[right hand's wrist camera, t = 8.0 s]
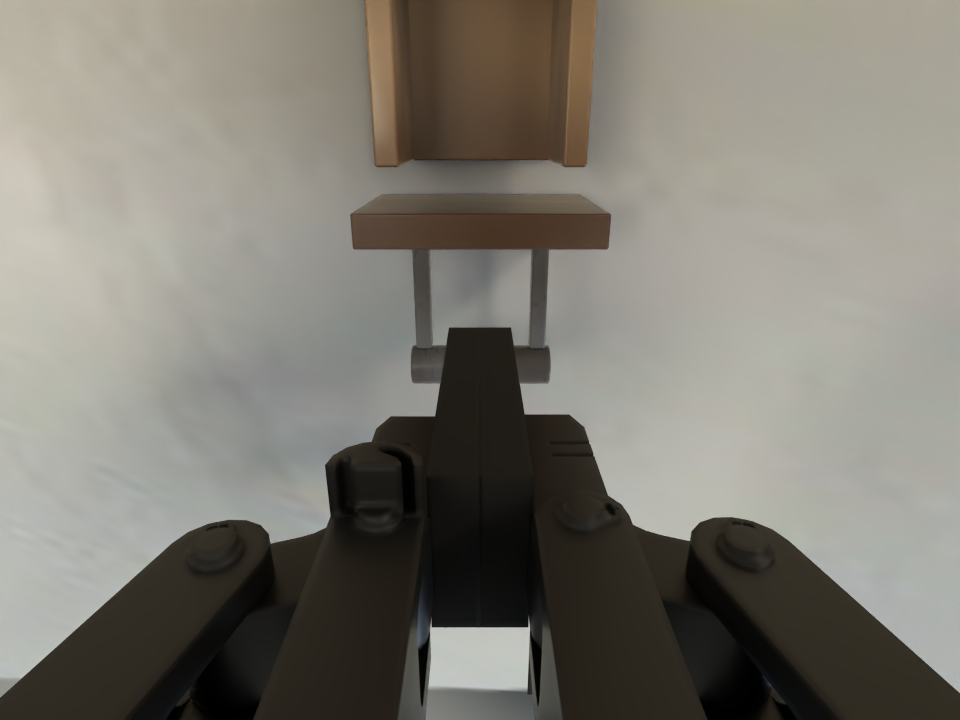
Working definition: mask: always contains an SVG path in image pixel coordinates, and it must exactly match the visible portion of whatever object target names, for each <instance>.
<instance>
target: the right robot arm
mask: <svg viewBox="0 0 960 720" xmlns="http://www.w3.org/2000/svg"><path fill="white" fill-rule="evenodd" d="M325 469H326V478H327V487H328V496H329V504H330V513H331V517H330V520H329V522H328V525H327V528H325V529H323V530H320V531H318V532H316V533H314V534H310V535H307V536H303V537H300V538H296V539H291V540H286V541H281V542H277V543H272V544H270V539H269V534H268V533H267V532H266V531H265V530H264V528H263V527H262V526H261V525H258V524H255V523H252V522H250V521H247V520H226V521H220V522H215V523H211V524H207V525H205V526H202V527H200V528H197V529H195V530H192V531H190V532H188V533H187V534H185V535H184V536H182V537H181V538H179V539H178V540H176V541H175V542H173V543H172V544H171V545H170V546H169V547H168V548H166V549H165V550H164V551H163V552H162V553H161V554H160V555H159V556H158V557H156V558H155V559H154V560H153V561H152V562H151V563H150V564H149V565H148V566H146V567H145V568H144V569H143V570H142V571H141V572H140V573H139V574H138V575H136V576H135V577H134V578H133V579H132V580H131V581H130V582H129V583H128V584H126V585H125V586H124V587H123V588H122V589H121V590H120V591H119V592H118V593H116V594H115V595H114V596H113V597H112V598H111V599H110V600H109V601H107V602H106V603H105V604H104V605H103V606H102V607H101V608H100V609H99V610H97V611H96V612H95V613H94V614H93V615H92V616H91V617H90V618H89V619H87V620H86V621H85V622H84V623H83V624H82V625H81V626H80V627H79V628H77V629H76V630H75V631H74V632H73V633H72V634H71V635H70V636H69V637H67V638H66V639H65V640H64V641H63V642H62V643H61V644H60V645H59V646H57V647H56V648H55V649H54V650H53V651H52V652H51V653H50V654H49V655H47V656H46V657H45V658H44V659H43V660H42V661H41V662H40V663H38V664H37V665H36V666H35V667H34V668H33V669H32V670H31V671H30V672H28V673H27V674H26V675H25V676H24V677H23V678H22V679H21V680H20V681H18V682H17V683H16V684H15V685H14V686H13V687H12V688H11V689H10V690H8V691H7V692H6V693H5V694H4V695H3V696H2V697H1V698H0V720H425V717H426V705H427V695H428V684H429V672H430V661H431V647H430V624H431V619H432V627H528V619H529V621H530V647H529V671H528V694H533V705H534V716H535V720H960V693H959V692H958V691H957V690H955V689H954V688H953V687H952V686H951V685H950V684H949V683H948V682H947V681H945V680H944V679H943V678H942V677H941V676H940V675H939V674H938V673H936V672H935V671H934V670H933V669H932V668H931V667H930V666H929V665H927V664H926V663H925V662H924V661H923V660H922V659H921V658H920V657H918V656H917V655H916V654H915V653H914V652H913V651H912V650H911V649H909V648H908V647H907V646H906V645H905V644H904V643H903V642H902V641H901V640H899V639H898V638H897V637H896V636H895V635H894V634H893V633H892V632H890V631H889V630H888V629H887V628H886V627H885V626H884V625H883V624H881V623H880V622H879V621H878V620H877V619H876V618H875V617H874V616H872V615H871V614H870V613H869V612H868V611H867V610H866V609H865V608H863V607H862V606H861V605H860V604H859V603H858V602H857V601H856V600H855V599H853V598H852V597H851V596H850V595H849V594H848V593H847V592H846V591H844V590H843V589H842V588H841V587H840V586H839V585H838V584H837V583H835V582H834V581H833V580H832V579H831V578H830V577H829V576H828V575H826V574H825V573H824V572H823V571H822V570H821V569H820V568H819V567H817V566H816V565H815V564H814V563H813V562H812V561H811V560H810V559H809V558H807V557H806V556H805V555H804V554H803V553H802V552H801V551H800V550H798V549H797V548H796V547H795V546H794V545H793V544H792V543H791V542H789V541H788V540H787V539H785V538H784V537H782V536H781V535H779V534H778V533H777V532H775V531H774V530H772V529H770V528H767V527H765V526H763V525H760V524H758V523H755V522H753V521H748V520H745V519H738V518H733V517H726V518H712V519H709V520H706V521H703V522H700V523H699V524H698V525H697V526H696V527H695V528H694V529H693V531H692V532H691V539H690V541H686V540H681V539H676V538H672V537H667V536H662V535H658V534H655V533H651V532H648V531H645V530H643V529H641V528H639V527H636V526H634V525H633V524H632V521H631V519H630V516H629V514H628V513H627V512H626V510H625V509H624V507H623V506H622V505H621V504H620V503H618V502H617V501H615V500H614V499H612V498H611V497H609V496H608V494H607V491H606V489H605V486H604V483H603V480H602V477H601V474H600V471H599V469H598V466H597V463H596V460H595V457H593V451H592V449H591V446H590V444H589V440H588V437H587V434H586V431H585V429H584V427H583V426H582V425H581V424H580V423H579V422H577V421H576V420H575V419H574V418H573V417H571V416H570V415H524V409H523V402H522V396H521V389H520V383H519V377H518V370H517V364H516V357H515V351H514V345H513V338H512V332H511V328H449V332H448V338H447V345H446V351H445V357H444V364H443V370H442V377H441V383H440V389H439V396H438V402H437V409H436V415H435V417H390V418H389V419H387V420H386V421H385V422H384V423H383V424H382V425H380V426H379V427H378V428H377V429H376V431H375V434H374V437H373V440H372V442H366V443H361V444H358V445H354V446H351V447H347V448H345V449H344V450H342V451H340V452H338V453H337V454H335V455H333V456H332V458H331V459H330V460H329V461H328V462H327V464H326V465H325Z"/></svg>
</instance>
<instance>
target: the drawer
mask: <svg viewBox="0 0 960 720" xmlns="http://www.w3.org/2000/svg"><path fill="white" fill-rule="evenodd" d="M364 3H365V19H366V35H367V51H368V67H369V83H370V99H371V115H372V131H373V148H374V164H375V166H376V167H397V166H400V165H402V164H405V163H407V162H409V161H412V160H550V161H552V162H554V163H557V164H559V165H562V166H564V167H585V166H586V165H587V156H588V140H589V124H590V108H591V92H592V76H593V60H594V44H595V28H596V12H597V0H364ZM350 216H351V229H352V242H353V249H412V251H413V274H414V298H415V322H416V345H414V346H413V347H412V351H411V378H412V382H413V383H441V377H442V370H443V364H444V357H445V351H446V345H432V344H433V333H432V301H431V269H430V249H531V279H530V311H529V342H528V343H529V345H514V351H515V357H516V364H517V370H518V377H519V383H520V384H547V383H549V379H550V350H549V346H547V345H545V329H546V306H547V282H548V259H549V249H608V247H609V235H610V222H611V214H610V213H608V212H606V211H605V210H603V209H602V208H600V207H599V206H597V205H595V204H594V203H592V202H591V201H589V200H588V199H586V198H584V197H583V196H581V195H580V194H382V195H380V196H378V197H377V198H375V199H374V200H372V201H371V202H369V203H367V204H366V205H364V206H363V207H361V208H360V209H358V210H357V211H355V212H353V213H352V214H351V215H350Z"/></svg>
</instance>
